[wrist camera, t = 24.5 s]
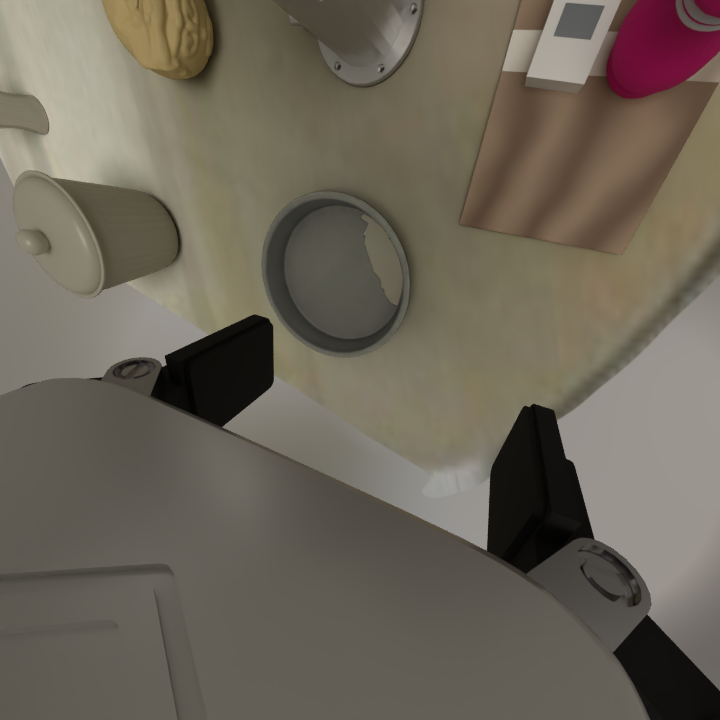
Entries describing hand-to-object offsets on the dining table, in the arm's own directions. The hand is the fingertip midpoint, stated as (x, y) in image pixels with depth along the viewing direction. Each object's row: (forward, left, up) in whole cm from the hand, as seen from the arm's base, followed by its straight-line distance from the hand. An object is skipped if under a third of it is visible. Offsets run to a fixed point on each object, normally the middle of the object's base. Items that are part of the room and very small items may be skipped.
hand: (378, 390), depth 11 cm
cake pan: (-18, -8, -37) cm, 42 cm away
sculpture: (-44, +20, -37) cm, 61 cm away
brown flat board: (+7, +14, -36) cm, 40 cm away
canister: (-58, -8, -36) cm, 69 cm away
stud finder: (+3, +19, -35) cm, 40 cm away
